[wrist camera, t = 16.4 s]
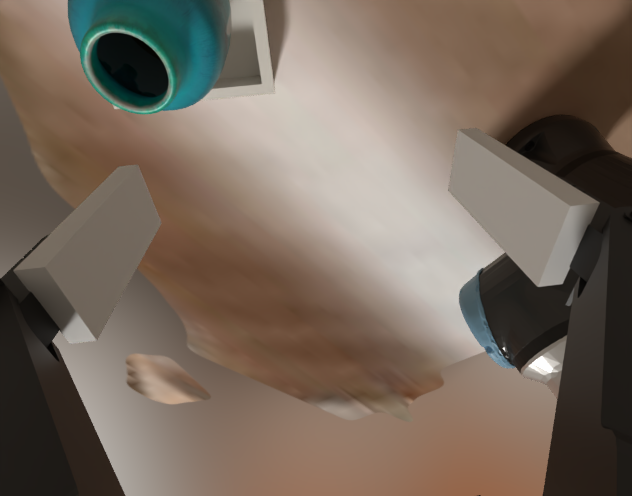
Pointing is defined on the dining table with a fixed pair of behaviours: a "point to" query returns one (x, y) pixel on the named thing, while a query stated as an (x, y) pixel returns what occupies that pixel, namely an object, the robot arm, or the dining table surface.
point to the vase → (151, 49)
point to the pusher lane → (245, 55)
